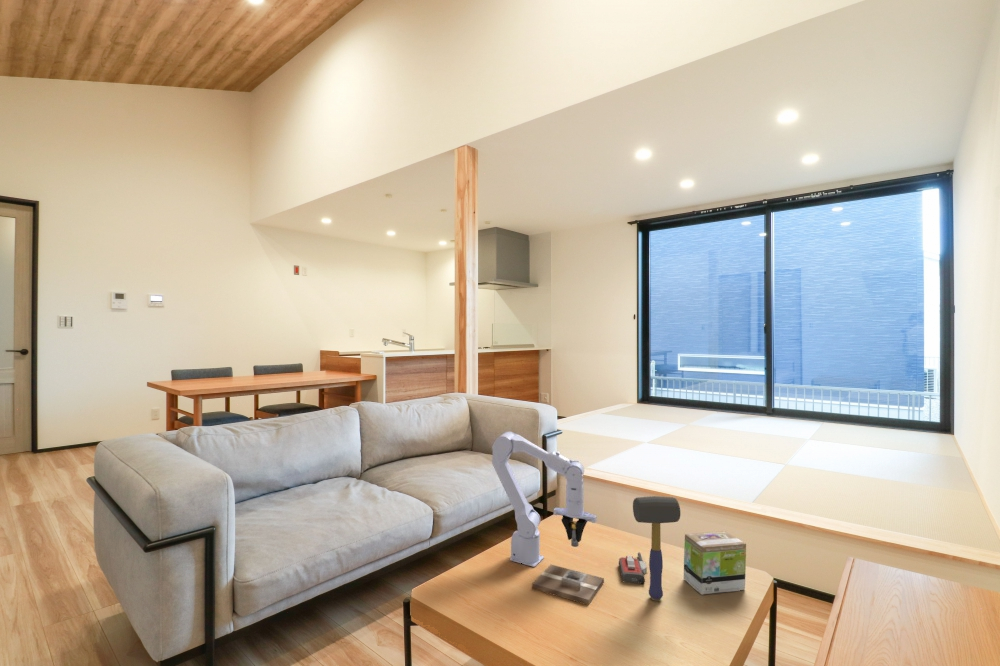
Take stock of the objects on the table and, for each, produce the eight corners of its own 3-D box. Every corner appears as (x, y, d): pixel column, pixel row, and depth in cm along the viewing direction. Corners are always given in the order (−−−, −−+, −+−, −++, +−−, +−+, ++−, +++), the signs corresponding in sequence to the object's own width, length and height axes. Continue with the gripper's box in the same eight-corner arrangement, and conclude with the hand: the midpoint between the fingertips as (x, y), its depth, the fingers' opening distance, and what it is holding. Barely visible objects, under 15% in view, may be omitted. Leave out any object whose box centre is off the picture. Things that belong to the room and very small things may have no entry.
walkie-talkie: (651, 587, 150) (642, 557, 170) (651, 573, 150) (642, 544, 170) (622, 585, 152) (616, 555, 171) (622, 570, 151) (616, 543, 171)
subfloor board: (532, 588, 149) (532, 583, 149) (550, 568, 161) (550, 564, 161) (588, 605, 140) (588, 599, 140) (603, 583, 152) (603, 577, 152)
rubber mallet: (672, 591, 147) (672, 492, 147) (681, 605, 140) (682, 501, 139) (631, 592, 147) (631, 492, 147) (638, 606, 139) (639, 501, 139)
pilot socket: (561, 584, 148) (561, 577, 148) (569, 575, 153) (569, 569, 153) (580, 589, 145) (580, 583, 145) (587, 580, 150) (587, 574, 150)
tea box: (702, 596, 144) (702, 547, 144) (682, 579, 154) (683, 533, 154) (746, 591, 148) (746, 542, 147) (724, 574, 157) (725, 529, 157)
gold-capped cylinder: (569, 546, 162) (569, 523, 162) (572, 542, 165) (572, 520, 165) (577, 547, 161) (577, 525, 161) (580, 544, 163) (580, 522, 163)
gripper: (599, 499, 163) (599, 539, 163) (559, 492, 170) (559, 530, 170) (592, 505, 157) (592, 548, 157) (551, 498, 164) (550, 538, 164)
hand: (574, 539), depth 163 cm, fingers closed on gold-capped cylinder, 3 cm apart
